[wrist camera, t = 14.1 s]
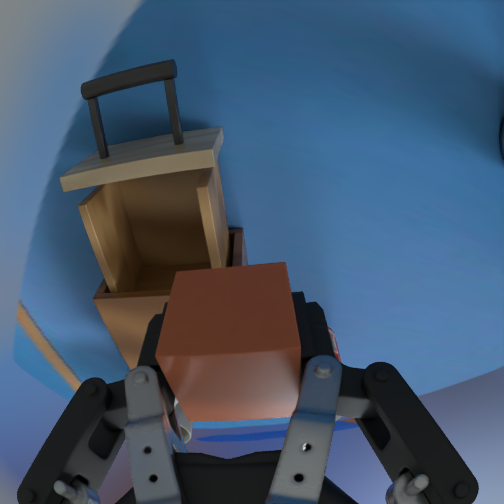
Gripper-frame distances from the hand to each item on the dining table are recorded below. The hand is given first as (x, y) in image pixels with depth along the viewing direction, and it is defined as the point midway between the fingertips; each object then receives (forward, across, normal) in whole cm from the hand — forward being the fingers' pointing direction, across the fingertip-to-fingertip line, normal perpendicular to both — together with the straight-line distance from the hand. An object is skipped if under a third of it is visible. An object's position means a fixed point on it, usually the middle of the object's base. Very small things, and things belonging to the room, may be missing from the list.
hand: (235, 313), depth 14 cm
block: (0, 0, 0) cm, 0 cm away
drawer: (+17, +7, -1) cm, 18 cm away
